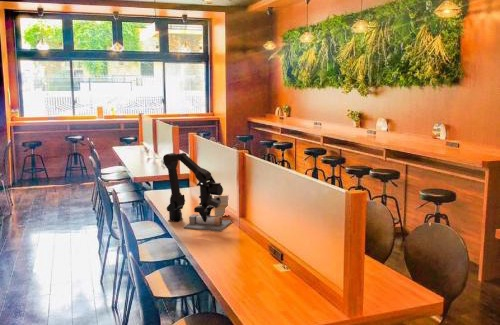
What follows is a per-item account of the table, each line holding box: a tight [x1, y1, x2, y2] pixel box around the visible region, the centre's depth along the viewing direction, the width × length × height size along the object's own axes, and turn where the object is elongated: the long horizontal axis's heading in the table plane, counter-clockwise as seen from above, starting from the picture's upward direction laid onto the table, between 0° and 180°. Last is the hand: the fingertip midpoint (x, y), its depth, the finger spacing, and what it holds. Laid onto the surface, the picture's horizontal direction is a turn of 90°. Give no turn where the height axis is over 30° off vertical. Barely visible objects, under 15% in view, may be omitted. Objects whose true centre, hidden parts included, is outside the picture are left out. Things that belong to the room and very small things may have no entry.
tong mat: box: [183, 213, 233, 233], centre depth 279 cm, size 22×19×5 cm
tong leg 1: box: [196, 216, 220, 225], centre depth 277 cm, size 14×1×4 cm, turn 72°
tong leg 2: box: [197, 214, 223, 224], centre depth 280 cm, size 14×1×4 cm, turn 71°
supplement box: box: [213, 193, 229, 216], centre depth 297 cm, size 8×5×13 cm, turn 84°
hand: (206, 220), depth 279 cm, fingers open, 4 cm apart
